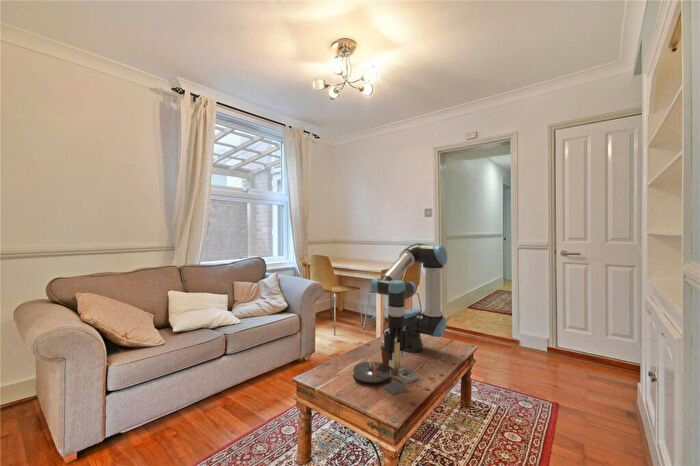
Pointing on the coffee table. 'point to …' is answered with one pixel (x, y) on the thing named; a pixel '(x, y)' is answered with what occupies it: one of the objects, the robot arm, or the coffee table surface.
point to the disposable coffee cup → (384, 353)
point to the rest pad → (395, 388)
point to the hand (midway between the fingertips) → (395, 365)
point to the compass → (371, 372)
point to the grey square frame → (406, 379)
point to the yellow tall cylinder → (396, 358)
